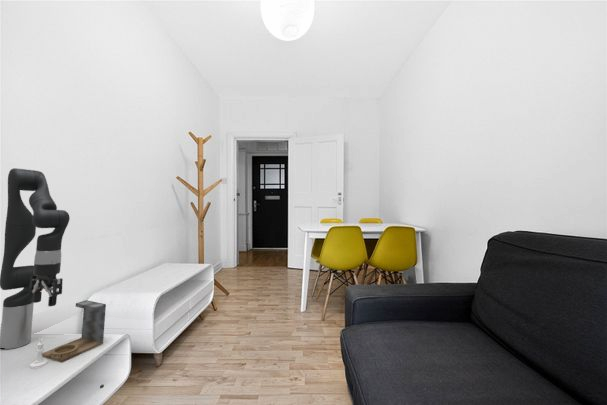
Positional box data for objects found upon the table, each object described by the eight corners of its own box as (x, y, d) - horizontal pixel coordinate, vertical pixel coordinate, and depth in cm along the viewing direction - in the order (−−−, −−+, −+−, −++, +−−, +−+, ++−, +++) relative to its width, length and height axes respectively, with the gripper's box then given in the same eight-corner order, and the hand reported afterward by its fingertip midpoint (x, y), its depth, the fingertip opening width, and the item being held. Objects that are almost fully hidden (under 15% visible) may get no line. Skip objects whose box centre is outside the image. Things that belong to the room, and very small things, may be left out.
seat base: (40, 356, 109) (44, 312, 109) (83, 338, 124) (86, 300, 125) (61, 362, 105) (64, 317, 106) (103, 343, 121) (105, 304, 121)
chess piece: (36, 369, 101) (38, 342, 101) (26, 367, 102) (28, 340, 102) (51, 362, 105) (53, 336, 106) (41, 360, 106) (43, 334, 107)
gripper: (23, 261, 103) (19, 304, 103) (49, 265, 99) (45, 310, 99) (46, 258, 110) (43, 298, 110) (71, 262, 106) (68, 303, 106)
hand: (44, 304), depth 104 cm, fingers open, 8 cm apart
